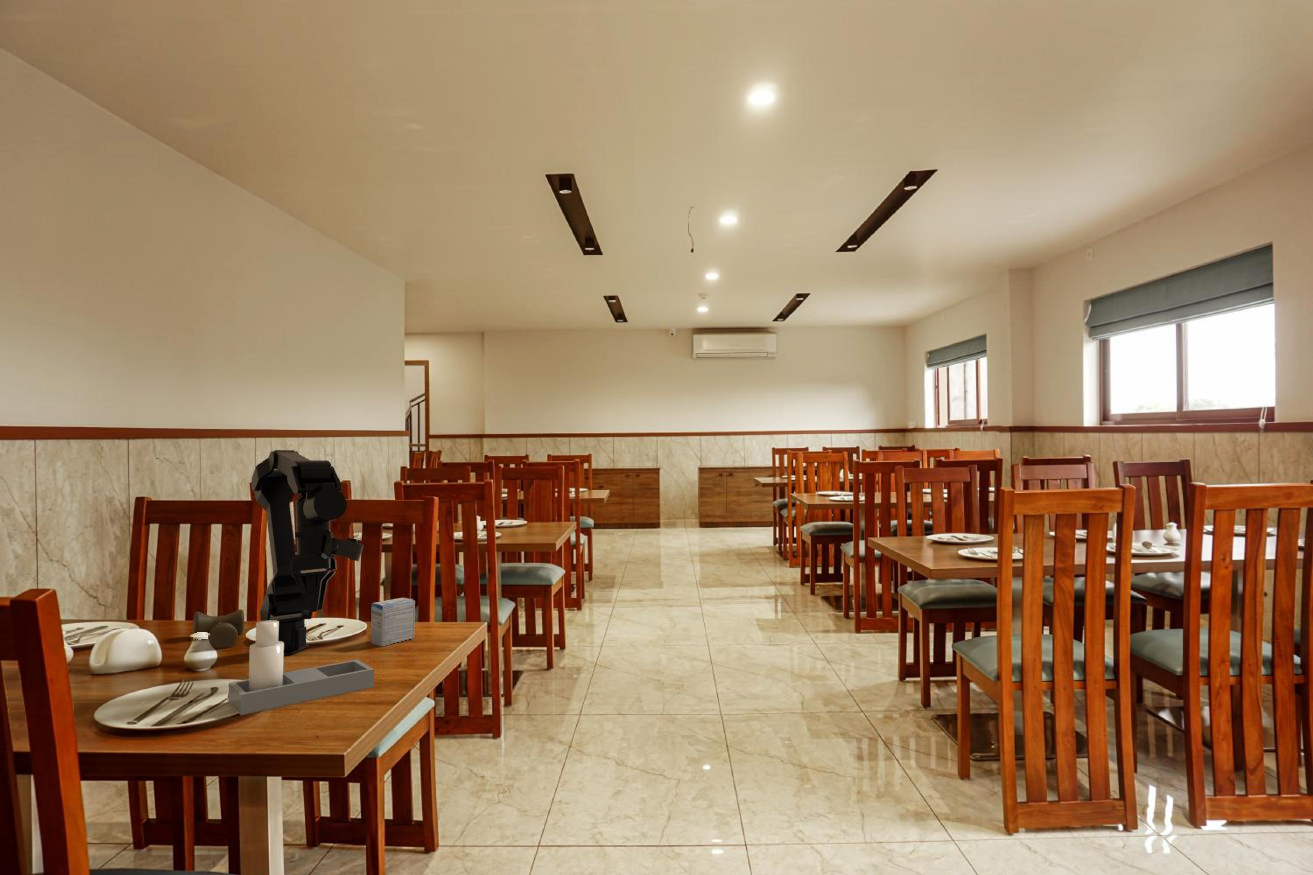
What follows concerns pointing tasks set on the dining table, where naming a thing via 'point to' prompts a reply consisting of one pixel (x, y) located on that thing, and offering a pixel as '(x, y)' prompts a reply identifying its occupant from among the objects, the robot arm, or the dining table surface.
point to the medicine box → (392, 621)
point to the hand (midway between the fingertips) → (316, 610)
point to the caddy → (303, 686)
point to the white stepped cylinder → (266, 657)
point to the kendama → (220, 628)
